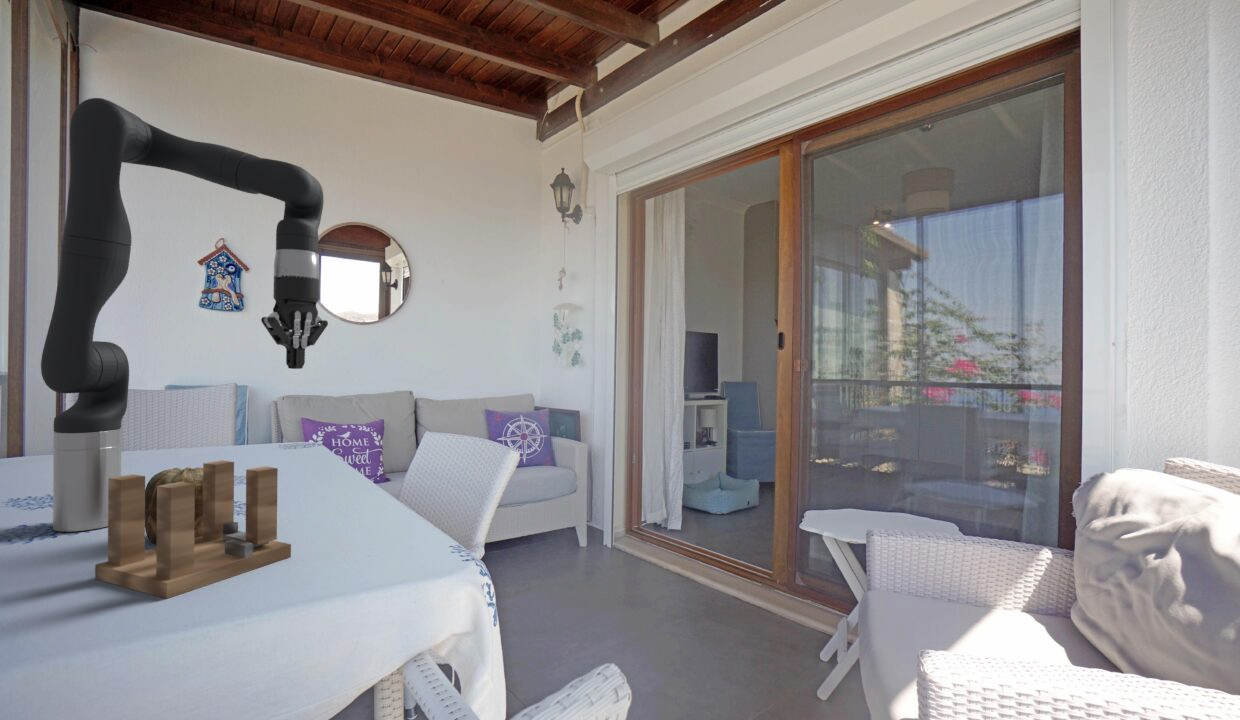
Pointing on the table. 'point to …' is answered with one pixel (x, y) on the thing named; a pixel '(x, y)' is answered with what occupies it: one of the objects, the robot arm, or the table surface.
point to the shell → (167, 478)
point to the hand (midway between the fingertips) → (295, 368)
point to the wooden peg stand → (178, 536)
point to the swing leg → (257, 508)
